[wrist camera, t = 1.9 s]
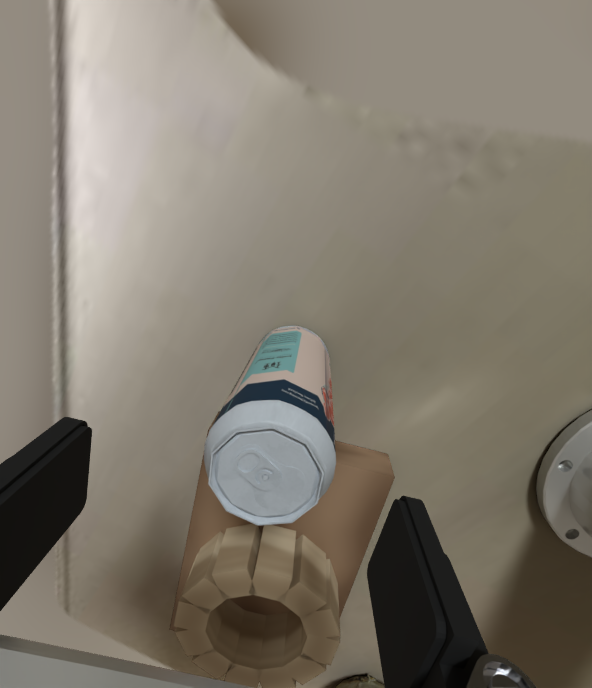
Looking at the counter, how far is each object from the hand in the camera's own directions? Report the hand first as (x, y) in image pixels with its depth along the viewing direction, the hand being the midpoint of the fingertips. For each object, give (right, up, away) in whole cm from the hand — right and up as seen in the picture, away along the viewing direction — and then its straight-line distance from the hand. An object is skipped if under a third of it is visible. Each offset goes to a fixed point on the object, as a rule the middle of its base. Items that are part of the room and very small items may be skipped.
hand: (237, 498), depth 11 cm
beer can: (+2, +4, +13) cm, 13 cm away
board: (0, -10, +17) cm, 19 cm away
